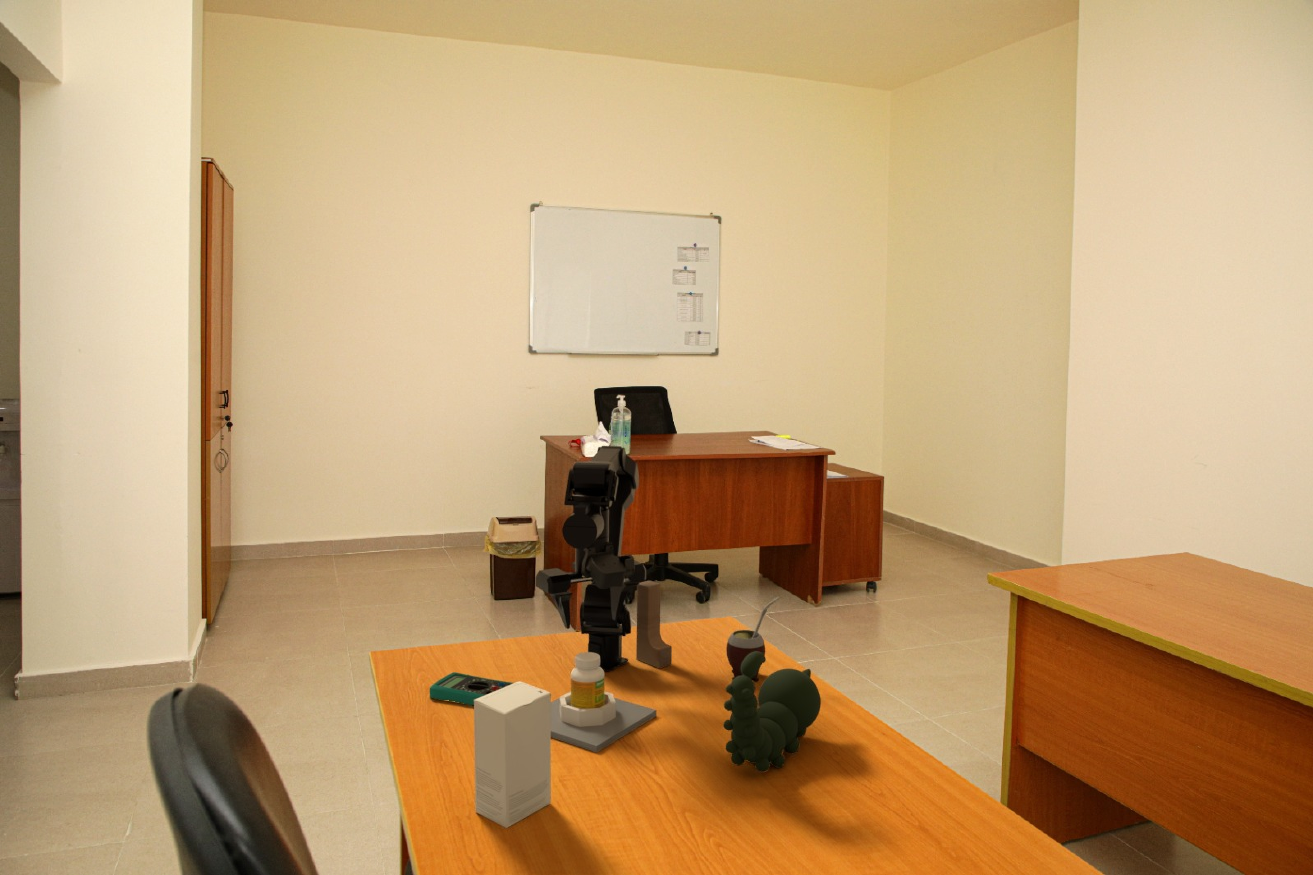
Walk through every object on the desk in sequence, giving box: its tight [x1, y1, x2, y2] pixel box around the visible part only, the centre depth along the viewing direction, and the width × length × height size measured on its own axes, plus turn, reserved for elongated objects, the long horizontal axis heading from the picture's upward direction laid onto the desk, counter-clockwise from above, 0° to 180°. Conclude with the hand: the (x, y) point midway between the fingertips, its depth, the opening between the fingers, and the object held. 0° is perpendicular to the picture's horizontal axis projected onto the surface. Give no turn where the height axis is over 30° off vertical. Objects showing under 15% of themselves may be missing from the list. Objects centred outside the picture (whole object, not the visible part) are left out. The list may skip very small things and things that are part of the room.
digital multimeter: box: [429, 671, 514, 706], centre depth 155 cm, size 7×15×3 cm, turn 69°
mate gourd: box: [725, 597, 780, 683], centre depth 165 cm, size 8×8×15 cm
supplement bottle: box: [570, 651, 605, 709], centre depth 145 cm, size 5×5×10 cm
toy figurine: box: [722, 651, 822, 773], centre depth 135 cm, size 9×19×25 cm
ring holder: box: [550, 690, 657, 753], centre depth 146 cm, size 16×16×4 cm
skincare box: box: [473, 680, 552, 829], centre depth 118 cm, size 8×7×16 cm
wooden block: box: [635, 580, 673, 669], centre depth 172 cm, size 7×3×15 cm, turn 43°
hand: (591, 624), depth 157 cm, fingers open, 9 cm apart
